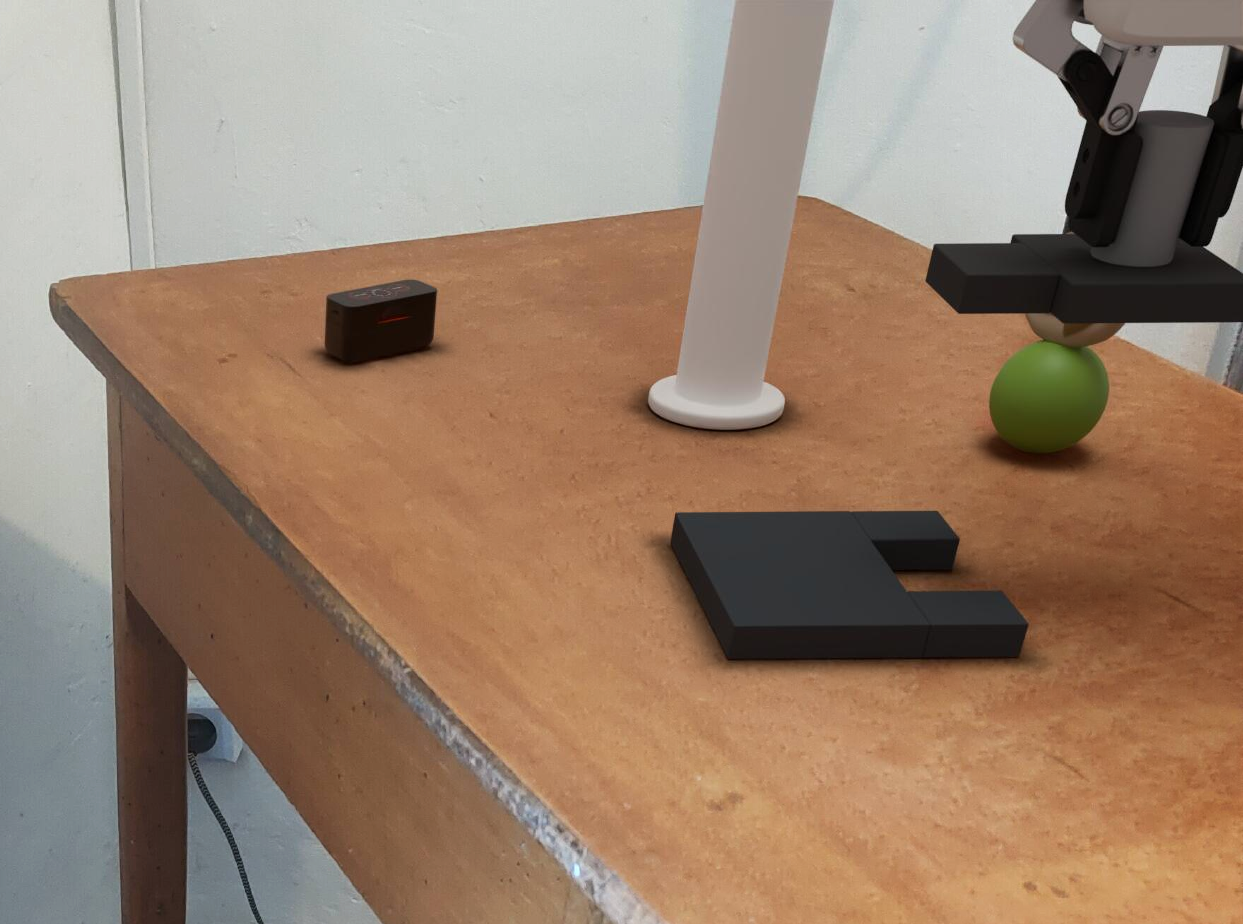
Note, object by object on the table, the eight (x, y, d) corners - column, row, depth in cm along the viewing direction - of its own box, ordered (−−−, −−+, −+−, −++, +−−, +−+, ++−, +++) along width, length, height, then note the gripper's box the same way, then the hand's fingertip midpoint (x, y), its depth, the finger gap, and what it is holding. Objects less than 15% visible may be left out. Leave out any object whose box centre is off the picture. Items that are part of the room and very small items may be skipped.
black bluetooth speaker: (448, 346, 110) (453, 288, 108) (346, 367, 107) (349, 308, 105) (402, 324, 113) (406, 268, 111) (302, 345, 110) (304, 287, 108)
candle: (721, 440, 97) (822, -132, 82) (620, 404, 102) (696, -145, 86) (810, 411, 101) (923, -145, 85) (708, 377, 105) (797, -157, 89)
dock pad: (930, 541, 87) (938, 509, 86) (1019, 657, 78) (1029, 623, 77) (669, 543, 87) (675, 511, 86) (727, 659, 78) (734, 625, 77)
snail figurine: (1062, 484, 92) (1139, 223, 85) (954, 445, 96) (1018, 193, 89) (1130, 460, 95) (1211, 204, 87) (1022, 423, 99) (1090, 176, 91)
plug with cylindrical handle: (1171, 270, 78) (1225, 97, 74) (1244, 323, 73) (1307, 139, 69) (914, 272, 78) (954, 100, 74) (968, 324, 73) (1014, 141, 69)
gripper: (1104, -341, 60) (957, 266, 71) (1626, -348, 60) (1393, 263, 71) (1023, -348, 66) (899, 214, 77) (1498, -355, 65) (1302, 211, 77)
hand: (1138, 233), depth 74 cm, fingers closed on plug with cylindrical handle, 3 cm apart
